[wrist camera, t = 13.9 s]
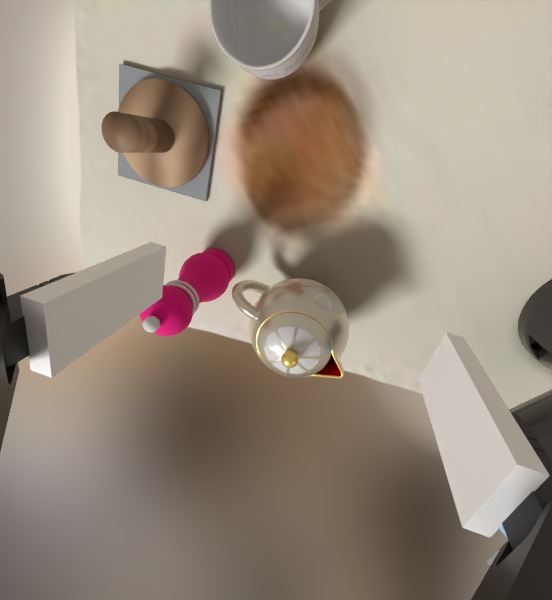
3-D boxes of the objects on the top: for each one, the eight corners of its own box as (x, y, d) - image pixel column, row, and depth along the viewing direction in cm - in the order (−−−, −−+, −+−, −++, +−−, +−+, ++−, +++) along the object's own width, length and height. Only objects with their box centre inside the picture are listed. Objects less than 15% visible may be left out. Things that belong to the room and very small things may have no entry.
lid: (217, 95, 41) (180, 79, 32) (202, 197, 47) (167, 208, 37) (123, 68, 41) (61, 45, 32) (120, 172, 47) (67, 176, 38)
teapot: (370, 297, 48) (380, 359, 34) (320, 356, 55) (310, 430, 40) (270, 232, 47) (236, 267, 33) (230, 300, 53) (187, 355, 39)
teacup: (239, 91, 41) (216, 78, 33) (225, -21, 36) (195, -63, 29) (351, 73, 37) (352, 54, 30) (351, -52, 33) (352, -108, 26)
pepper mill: (240, 251, 50) (180, 307, 32) (234, 292, 53) (177, 364, 35) (196, 240, 50) (114, 289, 32) (193, 282, 53) (117, 346, 36)
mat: (222, 91, 41) (220, 90, 40) (207, 200, 47) (205, 201, 47) (122, 64, 42) (119, 63, 41) (120, 175, 48) (118, 175, 48)
